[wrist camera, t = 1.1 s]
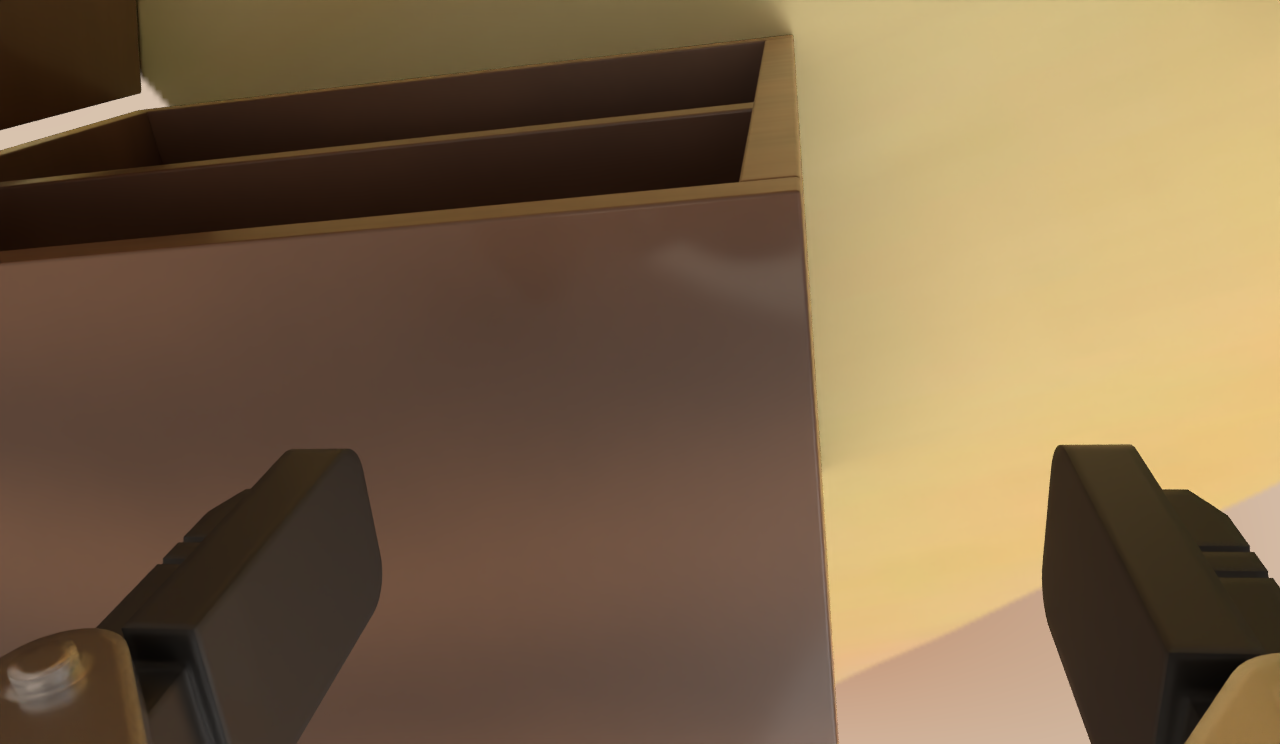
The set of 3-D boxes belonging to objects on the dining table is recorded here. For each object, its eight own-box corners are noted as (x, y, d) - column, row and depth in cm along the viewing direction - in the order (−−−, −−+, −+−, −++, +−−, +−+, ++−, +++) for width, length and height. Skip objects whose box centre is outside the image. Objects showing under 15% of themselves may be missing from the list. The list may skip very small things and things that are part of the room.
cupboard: (138, 110, 42) (-569, 315, 20) (793, 34, 38) (801, 189, 16) (255, 501, 49) (-177, 973, 27) (821, 475, 44) (855, 1011, 23)
